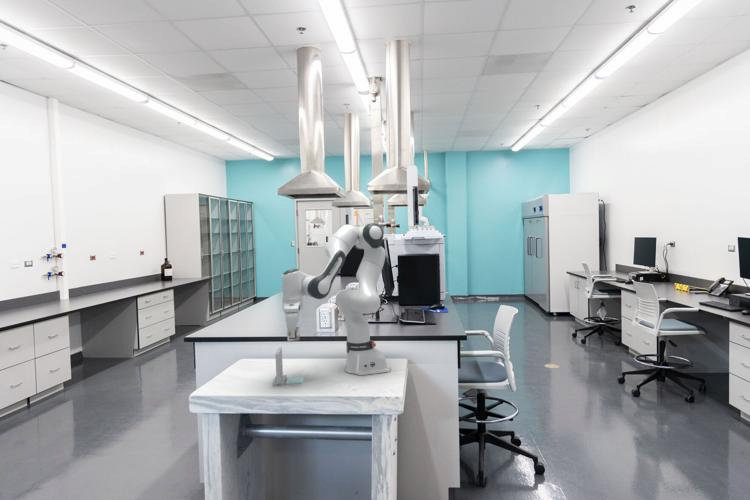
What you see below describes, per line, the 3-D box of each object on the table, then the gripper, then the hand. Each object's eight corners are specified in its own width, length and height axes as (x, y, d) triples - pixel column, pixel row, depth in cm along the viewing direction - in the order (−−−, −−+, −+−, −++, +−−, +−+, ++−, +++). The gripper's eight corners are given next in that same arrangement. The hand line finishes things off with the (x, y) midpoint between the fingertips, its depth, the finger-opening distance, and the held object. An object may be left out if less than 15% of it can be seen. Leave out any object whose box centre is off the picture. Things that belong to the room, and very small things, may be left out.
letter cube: (299, 337, 208) (299, 326, 208) (298, 340, 203) (298, 329, 202) (288, 338, 207) (288, 327, 207) (287, 340, 202) (287, 329, 202)
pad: (303, 378, 210) (303, 376, 210) (302, 383, 203) (302, 381, 203) (288, 378, 209) (288, 377, 209) (286, 384, 202) (286, 382, 202)
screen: (286, 376, 212) (285, 347, 212) (284, 385, 200) (282, 354, 200) (275, 377, 212) (274, 347, 211) (272, 385, 200) (271, 354, 199)
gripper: (287, 302, 214) (288, 331, 215) (283, 309, 194) (284, 341, 195) (301, 301, 215) (302, 330, 216) (298, 308, 195) (299, 340, 195)
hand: (293, 335), depth 205 cm, fingers closed on letter cube, 5 cm apart
